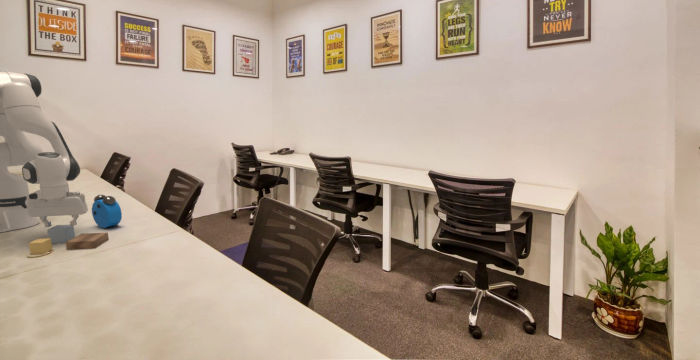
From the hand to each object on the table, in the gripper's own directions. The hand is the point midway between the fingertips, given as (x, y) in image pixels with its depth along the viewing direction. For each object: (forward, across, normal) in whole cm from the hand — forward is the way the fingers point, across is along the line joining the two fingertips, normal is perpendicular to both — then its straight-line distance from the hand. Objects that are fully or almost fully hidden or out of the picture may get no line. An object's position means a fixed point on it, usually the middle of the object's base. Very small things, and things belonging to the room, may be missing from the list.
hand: (60, 225), depth 141 cm
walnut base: (+7, -12, +6) cm, 15 cm away
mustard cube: (+7, +1, +12) cm, 13 cm away
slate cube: (+7, +1, 0) cm, 7 cm away
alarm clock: (+7, -8, -18) cm, 21 cm away
